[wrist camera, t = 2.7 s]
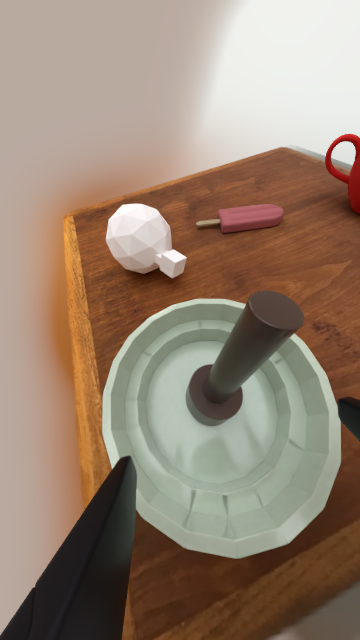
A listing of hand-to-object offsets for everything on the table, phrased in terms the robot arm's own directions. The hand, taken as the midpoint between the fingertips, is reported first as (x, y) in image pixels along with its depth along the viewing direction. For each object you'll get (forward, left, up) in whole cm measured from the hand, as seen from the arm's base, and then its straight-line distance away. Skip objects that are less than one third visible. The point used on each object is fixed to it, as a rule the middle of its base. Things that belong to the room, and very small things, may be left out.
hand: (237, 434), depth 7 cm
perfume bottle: (+23, +3, -10) cm, 25 cm away
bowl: (+3, 0, -10) cm, 10 cm away
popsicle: (+30, -14, -10) cm, 35 cm away
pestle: (+3, 0, -9) cm, 9 cm away
